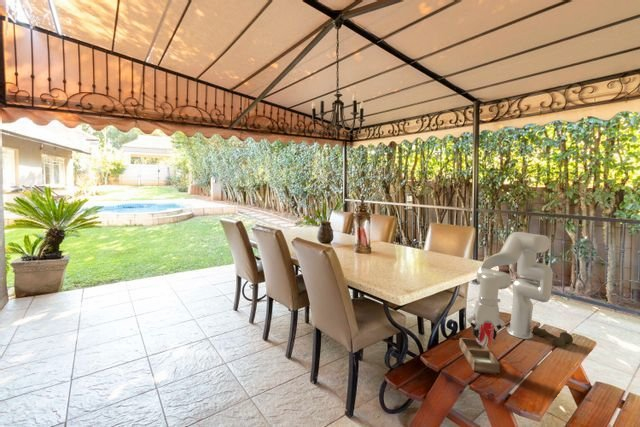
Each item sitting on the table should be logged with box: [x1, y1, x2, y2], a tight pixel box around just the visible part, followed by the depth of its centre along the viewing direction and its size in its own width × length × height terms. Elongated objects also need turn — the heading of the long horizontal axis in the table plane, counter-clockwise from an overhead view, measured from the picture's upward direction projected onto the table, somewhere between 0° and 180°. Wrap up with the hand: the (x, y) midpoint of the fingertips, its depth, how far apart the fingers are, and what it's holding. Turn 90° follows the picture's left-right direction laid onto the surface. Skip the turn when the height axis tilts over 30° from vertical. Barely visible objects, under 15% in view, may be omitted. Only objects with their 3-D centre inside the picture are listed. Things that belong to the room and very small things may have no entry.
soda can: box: [475, 321, 494, 348], centre depth 142 cm, size 7×7×12 cm
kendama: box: [532, 325, 578, 349], centre depth 166 cm, size 6×10×20 cm
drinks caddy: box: [458, 337, 501, 374], centre depth 149 cm, size 21×11×4 cm, turn 173°
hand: (484, 337), depth 142 cm, fingers closed on soda can, 7 cm apart
